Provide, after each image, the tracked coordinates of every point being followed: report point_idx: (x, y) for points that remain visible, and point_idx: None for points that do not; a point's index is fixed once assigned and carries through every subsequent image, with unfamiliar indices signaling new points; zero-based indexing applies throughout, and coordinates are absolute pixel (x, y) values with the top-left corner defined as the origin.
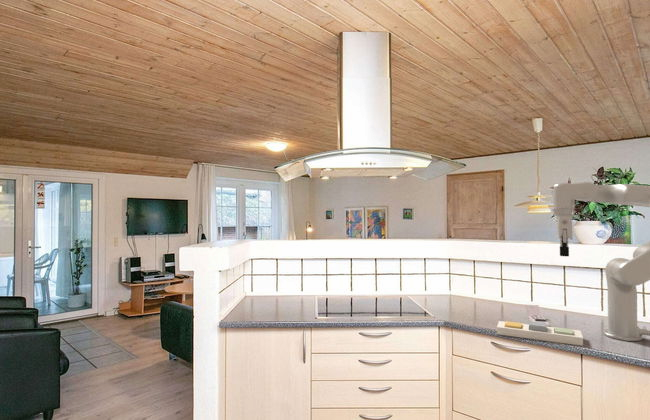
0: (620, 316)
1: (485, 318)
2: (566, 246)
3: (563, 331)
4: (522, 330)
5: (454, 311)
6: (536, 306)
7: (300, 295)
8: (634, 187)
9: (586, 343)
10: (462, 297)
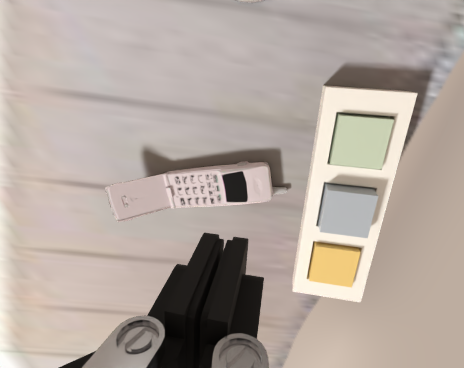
0: None
1: None
2: (258, 363)
3: (379, 146)
4: (375, 247)
5: None
6: (115, 190)
7: None
8: None
9: (378, 76)
10: (24, 329)
